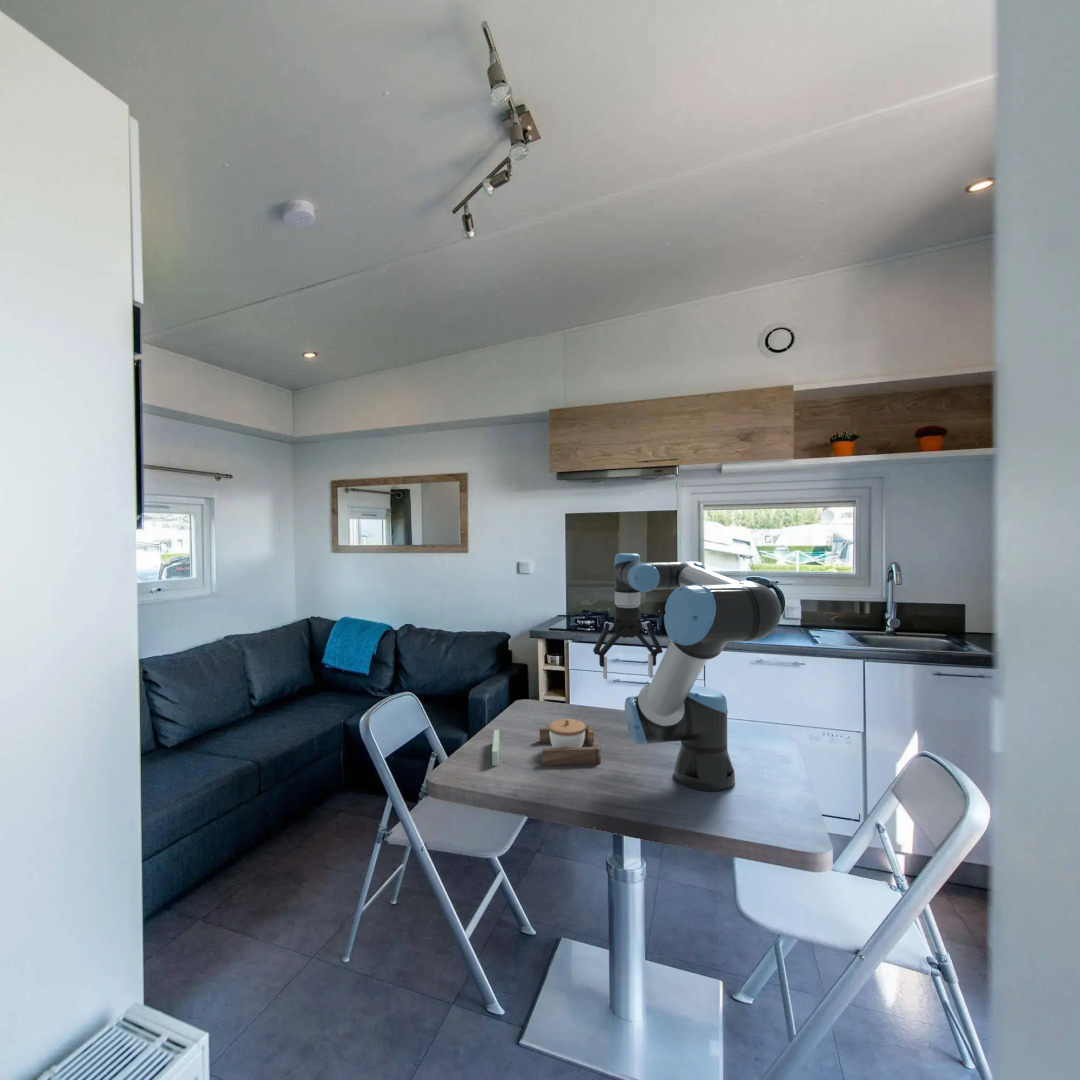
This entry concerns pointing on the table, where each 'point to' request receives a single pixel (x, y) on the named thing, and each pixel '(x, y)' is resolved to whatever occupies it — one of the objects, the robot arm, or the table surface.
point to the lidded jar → (567, 733)
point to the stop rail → (495, 748)
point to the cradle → (570, 751)
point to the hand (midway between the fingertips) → (627, 677)
